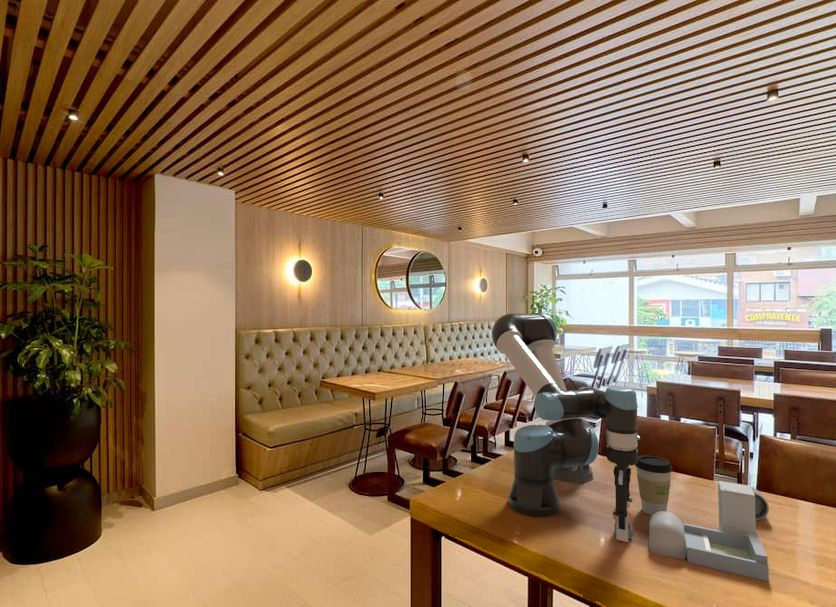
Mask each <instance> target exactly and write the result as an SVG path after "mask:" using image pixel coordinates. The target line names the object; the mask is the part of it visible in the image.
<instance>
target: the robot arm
mask: <svg viewBox="0 0 836 607" xmlns="http://www.w3.org/2000/svg"><path fill="white" fill-rule="evenodd" d="M557 329H558V327H557V324H556V322H555V321H554V319H553V318H552V317H551V316H550V315H548V314H546V313H539V312H533V313H506V314H504V315H502V316H500V317H499V318H498V319H496V321H495V322H494V323H493V326H492V328H491V339H492V343H493V345H494V346H495V348H496V350H498V352H499V353H501V354H504V355H505V356H506V358H507V359H508V361H509V362H510V363H511V365H512V366H513V368H514V369H515V371H516V372H517V374H518V375H519V376H520V378H521V379H522V380H523V382H524V383H525V385H526V386H527V387H528V389H529V390H530V391H531V393H532V394H533V396H534V397H535V398H534V401H533V406H534V409H535V413H536V415H537V417H538V418H540V419H541V420H543V421H547V422H548V421H549V422H548V424H547V426H545V425H546V424H530V425H525V426H522V427H519V428H518V429H517V430H516V431H515V433H514V436H513V443H512V444H513V460H514V461H513V463H514V464H513V468H514V470H513V471H514V472H513V473H514V479H513V482H512V484H511V487H510V488H511V489H510V491H509V494H508V504H509V506H510V508H512V509H513V510H514V511H515V512H517V513H520V514H523V515H525V516H530V517H537V518H539V517H540V518H543V517H551V516H554V515H556V514H558V513H559V512H560V510H561V500H560V496H559V493H558V490H557V488H556V487H557V486H556V484H555V479H554V469H561V468H568V467H575V466H578V467H581V466H583V465H588V464H589V465H590V464H592V463H593V462H595V460H596V459H597V458H598V454H599V448H600V446H599V445H600V444H599V439H598V436H597V434H596V432H595V430H594V429H593V430H592V429H591V428H590V427H588V426H584V423H583V421H582V419H583V418H586V417H587V418H588V417H597V418H600V419H603V420H605V423H606V424H605V425H606V426H605V441H606V444H607V445H606V459H607V460H608V461H609V462H610V463H612V464H613V463H614V464H615V465H614V468H613V475H614V486H615V507H616V512H613V511H612V516H613V515H616V521H615V522H616V535H615V537H616V538H615V539H616V541H617V540H618V541H621V542H625V543H629V538H628V514H627V507H628V508H629V509H630V510H631V508H630V507H631V506H630V503H633V498H631V497H630V496H631V493H630V483H631V475H632V468H631V467H630V466H635V464H637V463H638V457H639V451H638V449H637V448H638V441H639V440H641V437H640V436H639V435H638V400H637V393H636V391H635V390H634V389H633V388H630V387H625V386H624V387H623V386H608V387H607V388H606V389H605V390H602V389H601V390H600V389H597V388H595V387H589V386H581V387H579V389H578V390H577V389H575V390H567V387H566V384H565V382H564V381H563V380H564V379H563V375H562V373H561V370H560V367H559V364H558V362H557V360H556V359H557V358H556V356H555V354H554V351H553V349H554V347H555V345H556V344H555V342H556V340H557V337H558V333H557V332H558V330H557Z"/></svg>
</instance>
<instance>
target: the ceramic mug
mask: <svg viewBox="0 0 836 607" xmlns="http://www.w3.org/2000/svg"><path fill="white" fill-rule="evenodd" d="M751 488H752V490H753V492H754V495H755V518H756V521H761V520H763V519H766V517H767V516H768V514H769V513H770V512H769V510H770V507H769V503H768V501H767V500H766V498H765V497H764V495H763V494H762V493H761V492H760V491H759V490H758V489H757V488H755V487H753V486H751Z"/></svg>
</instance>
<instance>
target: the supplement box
mask: <svg viewBox="0 0 836 607" xmlns="http://www.w3.org/2000/svg"><path fill="white" fill-rule="evenodd" d="M751 487H752V486H751V485H747V484H741V483H737V482H736V483H735V482H727V481H722V480H718V482H717V491H718V492H717V493H718V494H717V495H718V496H717V497H718V500H717V501H718V530H719V531H724V532H729V533H734V534H738V535H743V536H747V532H752V533H757V530H756V529H757V527H756V526H757V524H756V522H757V520H756V518H755V495H754V492H753V490H752V488H751Z"/></svg>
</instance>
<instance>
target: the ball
mask: <svg viewBox="0 0 836 607" xmlns="http://www.w3.org/2000/svg"><path fill="white" fill-rule="evenodd" d="M613 512H616V506H615V507H614V509H613V511H612V513H613ZM627 514H628V526H629V525H631V524H632V525H633V522H634V518H635V517H634V512H633V511H632V510H631V508H630V509H629V508H628V507H627ZM612 518H613V520H614V521H615V522H616V515H613V514H612Z"/></svg>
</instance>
